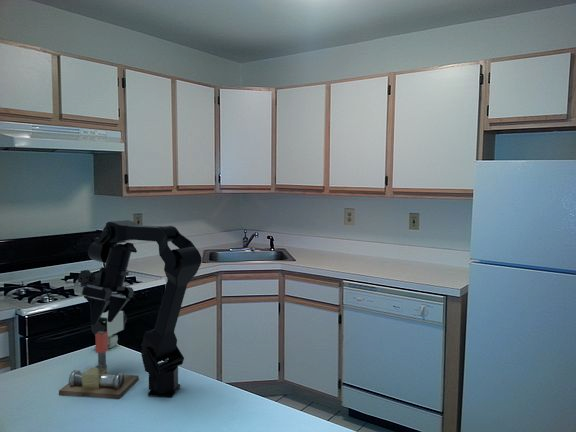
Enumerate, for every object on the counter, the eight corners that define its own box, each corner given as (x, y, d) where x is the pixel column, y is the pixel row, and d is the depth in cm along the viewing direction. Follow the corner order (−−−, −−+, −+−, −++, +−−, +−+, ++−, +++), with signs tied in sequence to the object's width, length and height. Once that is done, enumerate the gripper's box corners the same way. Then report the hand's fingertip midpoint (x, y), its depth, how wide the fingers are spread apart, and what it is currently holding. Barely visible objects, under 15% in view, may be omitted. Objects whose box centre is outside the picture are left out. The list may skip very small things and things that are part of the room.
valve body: (125, 385, 118) (124, 369, 118) (116, 392, 114) (116, 376, 113) (78, 382, 119) (77, 366, 119) (68, 389, 115) (68, 373, 115)
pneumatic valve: (127, 341, 152) (127, 306, 151) (103, 353, 141) (102, 316, 140) (114, 339, 154) (113, 304, 153) (88, 351, 143) (88, 314, 142)
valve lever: (108, 369, 121) (107, 331, 120) (104, 373, 119) (103, 334, 118) (100, 369, 121) (99, 331, 120) (96, 372, 119) (95, 333, 118)
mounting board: (138, 379, 123) (138, 375, 123) (119, 399, 112) (119, 394, 112) (83, 376, 124) (83, 372, 124) (59, 395, 113) (58, 390, 113)
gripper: (104, 261, 133) (90, 314, 131) (70, 258, 114) (53, 319, 112) (140, 269, 132) (126, 322, 130) (111, 266, 113) (95, 328, 111)
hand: (101, 323), depth 121 cm, fingers open, 9 cm apart
